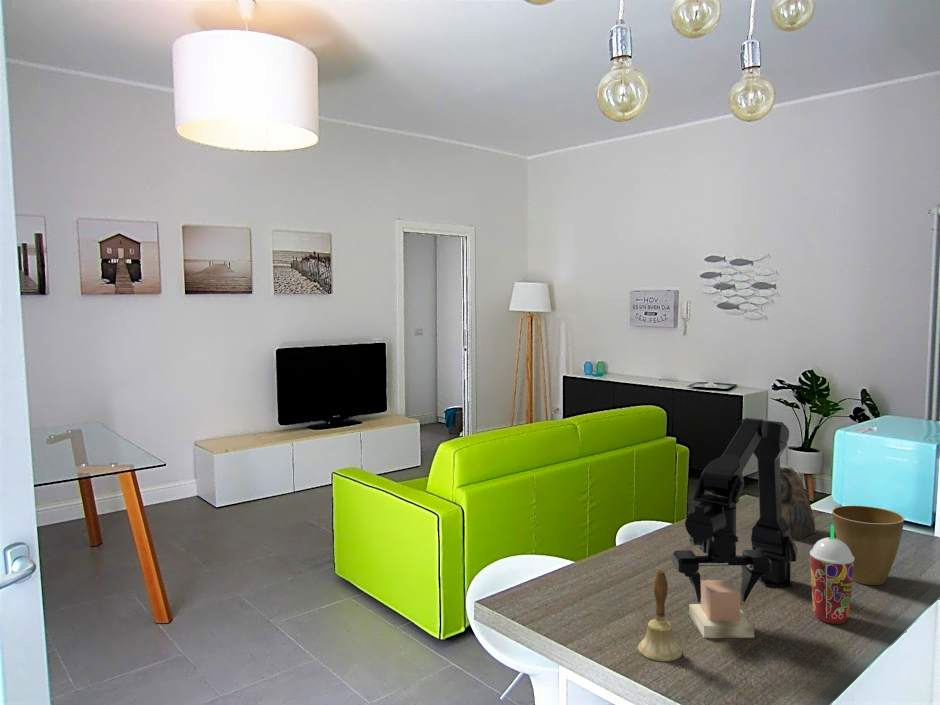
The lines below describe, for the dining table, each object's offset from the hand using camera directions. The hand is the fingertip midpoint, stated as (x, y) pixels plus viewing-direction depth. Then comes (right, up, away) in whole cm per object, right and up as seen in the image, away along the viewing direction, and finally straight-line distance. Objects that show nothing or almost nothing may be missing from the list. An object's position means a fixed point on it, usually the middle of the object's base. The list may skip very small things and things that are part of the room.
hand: (720, 601), depth 142 cm
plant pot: (+43, -3, +22) cm, 48 cm away
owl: (+41, 0, +55) cm, 68 cm away
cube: (0, -3, 0) cm, 3 cm away
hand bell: (-15, -7, -9) cm, 19 cm away
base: (0, -6, 0) cm, 6 cm away
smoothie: (+24, -5, +3) cm, 25 cm away
